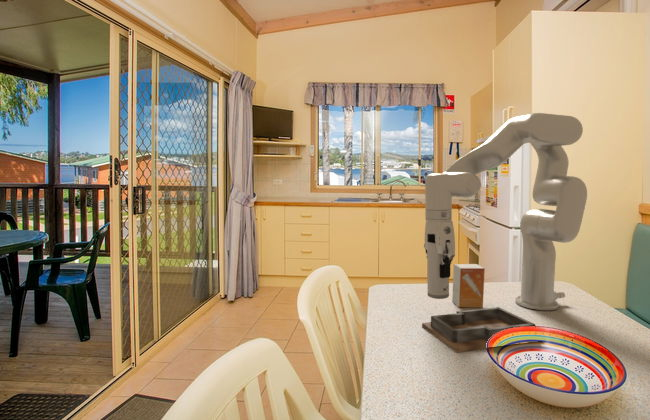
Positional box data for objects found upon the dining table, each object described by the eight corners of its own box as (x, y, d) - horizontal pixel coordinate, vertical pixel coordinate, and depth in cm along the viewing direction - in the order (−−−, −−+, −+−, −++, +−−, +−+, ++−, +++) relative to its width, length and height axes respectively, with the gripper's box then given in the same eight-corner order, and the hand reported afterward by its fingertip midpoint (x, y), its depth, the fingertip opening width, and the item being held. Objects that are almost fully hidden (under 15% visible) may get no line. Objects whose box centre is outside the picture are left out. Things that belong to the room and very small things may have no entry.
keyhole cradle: (497, 318, 118) (498, 305, 118) (542, 341, 102) (543, 326, 102) (422, 326, 112) (422, 312, 112) (456, 352, 96) (457, 336, 95)
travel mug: (451, 299, 116) (451, 232, 114) (428, 298, 117) (427, 232, 116) (449, 293, 122) (449, 228, 120) (427, 292, 124) (426, 228, 122)
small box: (459, 307, 128) (460, 268, 127) (451, 301, 134) (452, 263, 133) (483, 307, 128) (485, 267, 127) (475, 301, 134) (476, 263, 133)
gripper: (467, 217, 110) (466, 280, 112) (434, 212, 127) (434, 267, 129) (443, 219, 108) (443, 283, 110) (413, 213, 125) (413, 269, 127)
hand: (438, 274), depth 119 cm, fingers closed on travel mug, 6 cm apart
